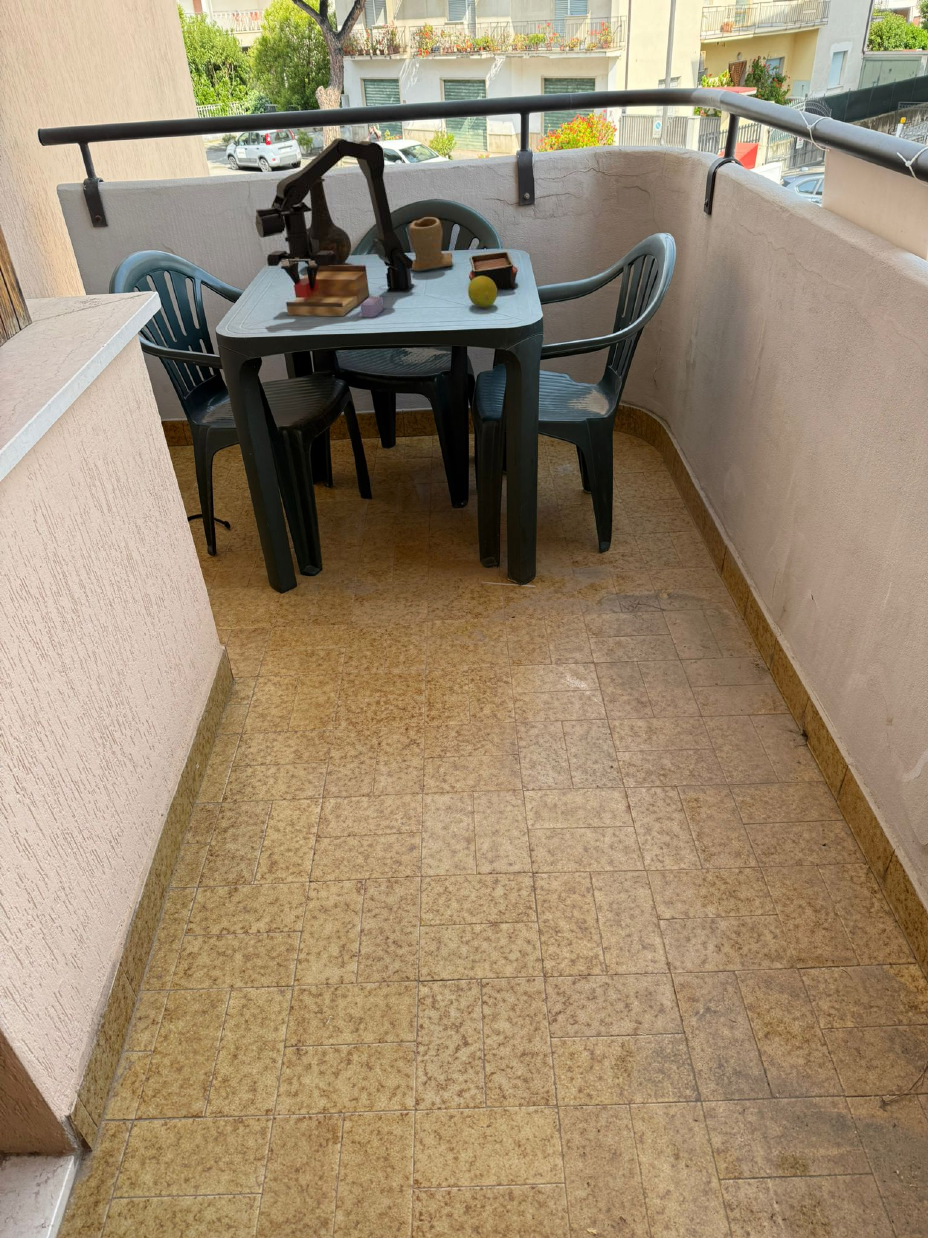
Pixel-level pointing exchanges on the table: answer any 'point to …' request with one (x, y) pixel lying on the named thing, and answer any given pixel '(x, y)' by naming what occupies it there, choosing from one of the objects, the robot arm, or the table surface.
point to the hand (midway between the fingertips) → (306, 290)
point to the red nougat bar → (304, 288)
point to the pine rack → (333, 292)
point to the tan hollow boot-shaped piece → (428, 244)
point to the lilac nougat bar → (371, 306)
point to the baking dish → (495, 269)
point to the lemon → (482, 291)
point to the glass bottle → (326, 226)
